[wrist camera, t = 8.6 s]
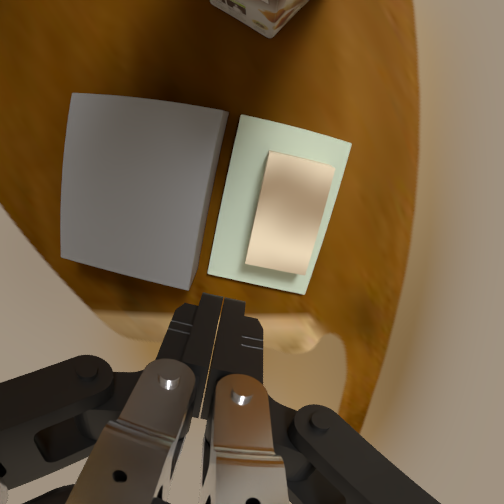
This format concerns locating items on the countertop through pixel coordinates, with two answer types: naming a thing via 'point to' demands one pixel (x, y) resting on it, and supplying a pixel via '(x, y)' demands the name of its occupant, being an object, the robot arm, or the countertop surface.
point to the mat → (247, 193)
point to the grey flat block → (138, 185)
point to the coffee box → (261, 13)
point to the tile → (288, 212)
